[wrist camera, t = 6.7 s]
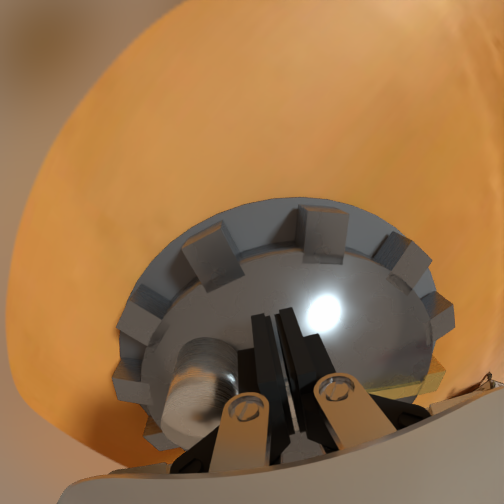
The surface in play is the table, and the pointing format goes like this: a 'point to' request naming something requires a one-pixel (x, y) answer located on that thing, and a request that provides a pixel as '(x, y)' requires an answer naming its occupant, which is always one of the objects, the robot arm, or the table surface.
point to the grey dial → (270, 302)
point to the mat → (253, 235)
